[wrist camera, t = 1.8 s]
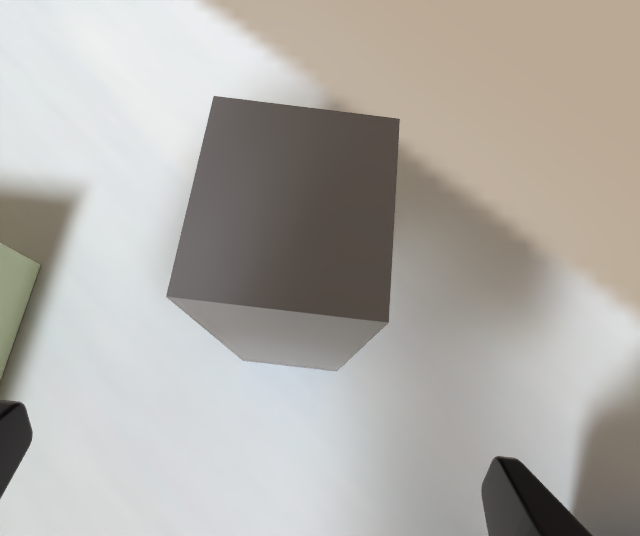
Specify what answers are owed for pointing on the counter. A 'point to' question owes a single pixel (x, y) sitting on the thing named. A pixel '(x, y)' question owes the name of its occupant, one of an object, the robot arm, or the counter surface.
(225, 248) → the grey square pillar
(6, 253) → the pale green tray
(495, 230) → the counter surface
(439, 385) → the counter surface
